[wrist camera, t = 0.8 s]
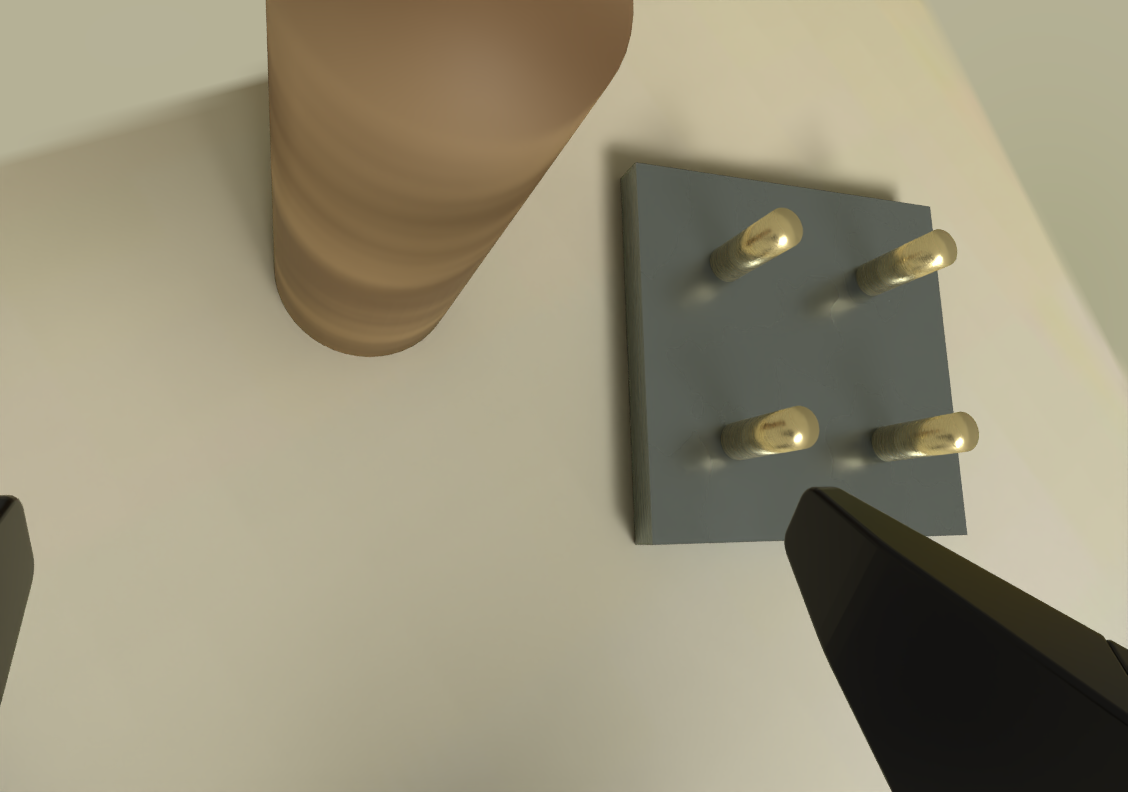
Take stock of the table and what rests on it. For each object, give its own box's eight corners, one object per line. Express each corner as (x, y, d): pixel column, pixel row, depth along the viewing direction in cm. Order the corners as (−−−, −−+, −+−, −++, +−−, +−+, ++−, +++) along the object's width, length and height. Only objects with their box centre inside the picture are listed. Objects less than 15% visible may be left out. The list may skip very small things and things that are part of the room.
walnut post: (417, 383, 22) (574, 199, 10) (244, 314, 21) (193, 14, 9) (474, 235, 24) (671, -79, 12) (315, 162, 22) (353, -274, 10)
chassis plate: (939, 535, 28) (1053, 534, 24) (635, 544, 24) (708, 545, 20) (905, 219, 30) (1004, 168, 26) (620, 178, 26) (683, 111, 22)
